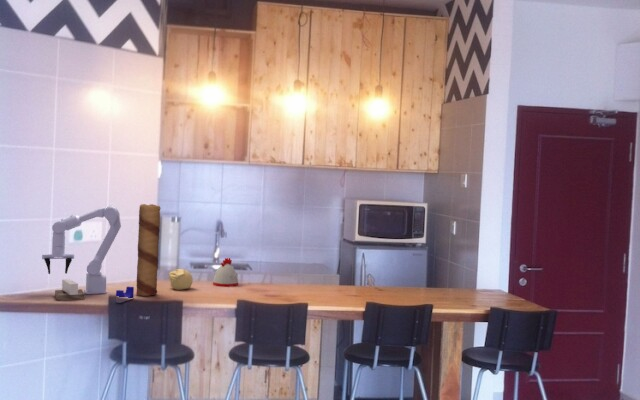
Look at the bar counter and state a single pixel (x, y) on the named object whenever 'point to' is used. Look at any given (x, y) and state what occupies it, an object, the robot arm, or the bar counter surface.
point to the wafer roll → (148, 249)
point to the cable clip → (128, 293)
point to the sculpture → (180, 279)
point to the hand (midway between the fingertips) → (57, 273)
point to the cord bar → (70, 287)
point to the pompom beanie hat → (225, 275)
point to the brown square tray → (65, 296)
